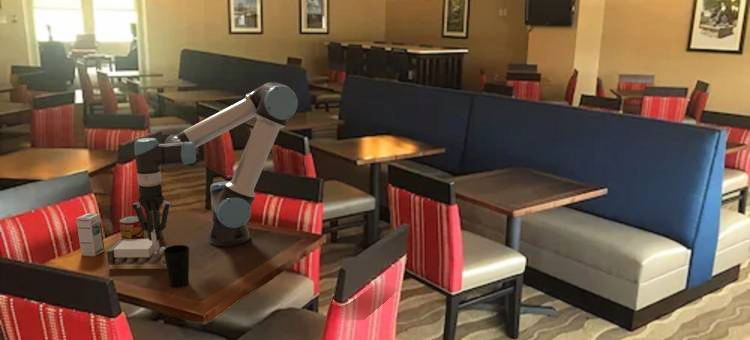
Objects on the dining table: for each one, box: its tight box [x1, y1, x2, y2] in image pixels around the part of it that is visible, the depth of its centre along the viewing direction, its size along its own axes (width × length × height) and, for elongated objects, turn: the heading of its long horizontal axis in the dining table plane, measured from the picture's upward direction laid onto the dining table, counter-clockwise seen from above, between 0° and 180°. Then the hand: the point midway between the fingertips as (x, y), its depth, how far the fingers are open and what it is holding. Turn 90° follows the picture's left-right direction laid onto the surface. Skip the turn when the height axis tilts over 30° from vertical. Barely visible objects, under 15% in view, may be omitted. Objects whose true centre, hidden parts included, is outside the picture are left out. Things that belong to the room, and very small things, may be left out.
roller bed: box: [106, 238, 167, 270], centre depth 215 cm, size 22×12×6 cm, turn 91°
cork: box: [146, 210, 164, 239], centre depth 240 cm, size 6×6×11 cm
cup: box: [164, 244, 190, 289], centre depth 196 cm, size 8×8×12 cm
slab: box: [113, 238, 157, 258], centre depth 215 cm, size 12×10×3 cm
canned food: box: [119, 215, 146, 239], centre depth 226 cm, size 8×8×12 cm
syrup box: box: [75, 212, 105, 257], centre depth 223 cm, size 6×6×14 cm
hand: (156, 248), depth 215 cm, fingers closed
